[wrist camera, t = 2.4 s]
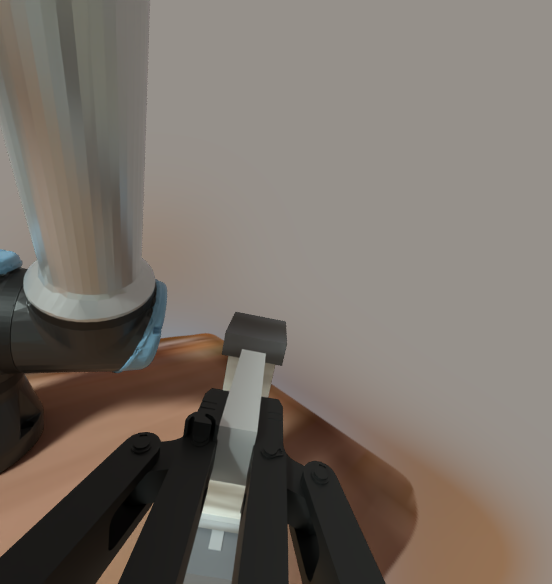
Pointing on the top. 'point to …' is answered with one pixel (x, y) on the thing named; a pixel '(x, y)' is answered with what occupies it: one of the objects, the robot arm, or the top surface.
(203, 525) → the lever
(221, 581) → the fader console
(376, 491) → the top surface
